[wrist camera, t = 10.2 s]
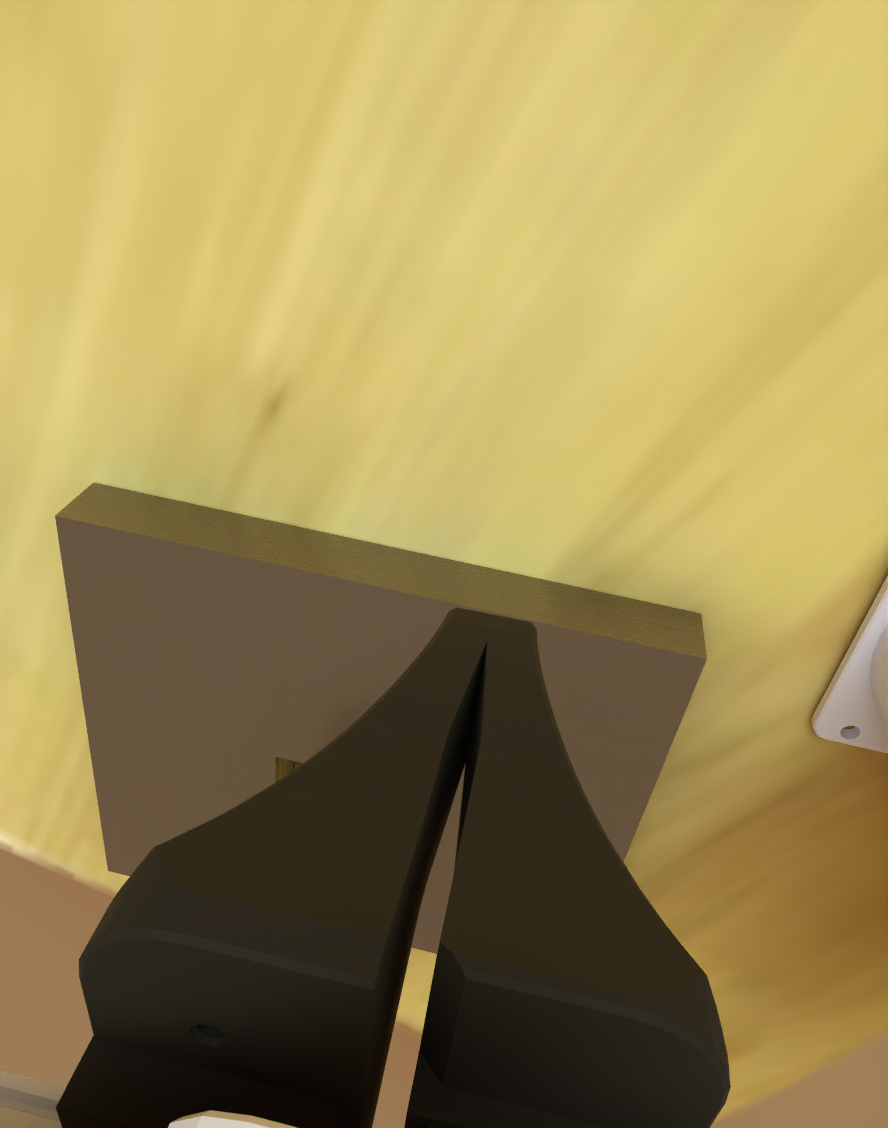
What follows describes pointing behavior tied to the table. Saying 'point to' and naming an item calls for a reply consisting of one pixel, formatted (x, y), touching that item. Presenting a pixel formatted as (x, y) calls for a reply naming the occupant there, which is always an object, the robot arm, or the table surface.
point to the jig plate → (325, 664)
